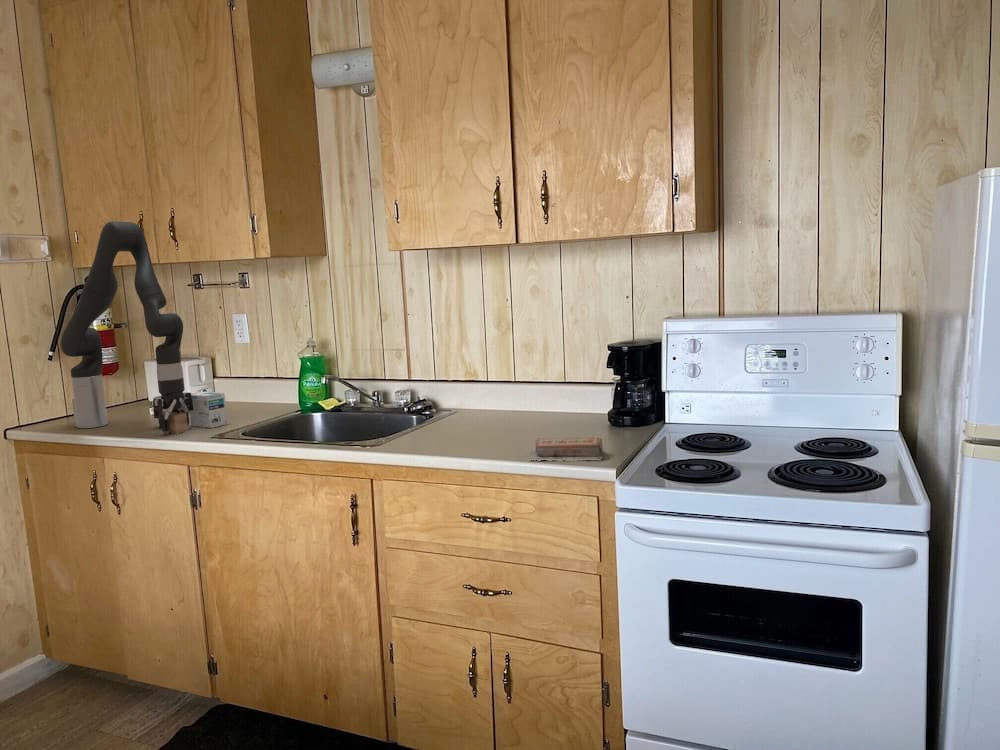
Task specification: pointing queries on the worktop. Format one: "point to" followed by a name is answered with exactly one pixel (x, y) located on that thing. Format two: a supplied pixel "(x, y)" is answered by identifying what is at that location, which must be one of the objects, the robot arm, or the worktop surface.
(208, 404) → the light bulb box
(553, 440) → the packaged product
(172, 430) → the walnut block
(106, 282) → the robot arm
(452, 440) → the worktop surface
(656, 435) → the worktop surface
